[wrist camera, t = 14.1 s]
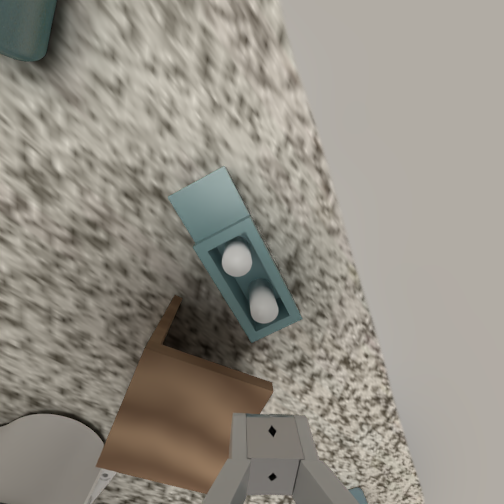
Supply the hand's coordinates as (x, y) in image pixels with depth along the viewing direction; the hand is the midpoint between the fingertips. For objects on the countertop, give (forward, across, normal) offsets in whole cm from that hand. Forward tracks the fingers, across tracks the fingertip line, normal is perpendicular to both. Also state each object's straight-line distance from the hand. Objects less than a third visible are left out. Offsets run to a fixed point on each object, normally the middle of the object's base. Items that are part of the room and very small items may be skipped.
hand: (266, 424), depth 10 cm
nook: (+19, +5, +14) cm, 24 cm away
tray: (+19, 0, 0) cm, 19 cm away
